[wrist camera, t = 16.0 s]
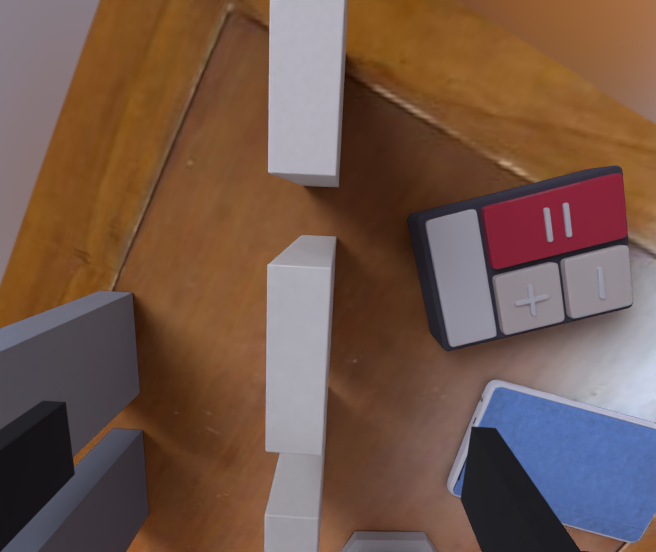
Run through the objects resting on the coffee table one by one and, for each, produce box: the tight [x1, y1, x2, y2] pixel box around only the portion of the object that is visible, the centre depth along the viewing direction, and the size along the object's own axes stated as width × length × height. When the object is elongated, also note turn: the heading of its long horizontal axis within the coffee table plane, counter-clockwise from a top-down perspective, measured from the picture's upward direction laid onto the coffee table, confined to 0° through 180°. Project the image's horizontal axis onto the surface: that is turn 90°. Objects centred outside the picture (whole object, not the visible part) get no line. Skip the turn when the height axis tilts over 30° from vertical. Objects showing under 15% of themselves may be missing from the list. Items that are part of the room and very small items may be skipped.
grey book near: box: [0, 291, 140, 457], centre depth 26 cm, size 10×3×14 cm, turn 177°
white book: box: [265, 235, 336, 456], centre depth 24 cm, size 10×3×14 cm, turn 177°
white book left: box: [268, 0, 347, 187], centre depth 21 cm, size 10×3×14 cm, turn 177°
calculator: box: [407, 166, 633, 351], centre depth 28 cm, size 11×4×15 cm
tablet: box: [447, 380, 656, 543], centre depth 33 cm, size 19×13×1 cm, turn 75°
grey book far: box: [1, 428, 149, 552], centre depth 29 cm, size 10×3×14 cm, turn 177°
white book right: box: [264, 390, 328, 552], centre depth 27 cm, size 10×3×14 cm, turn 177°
